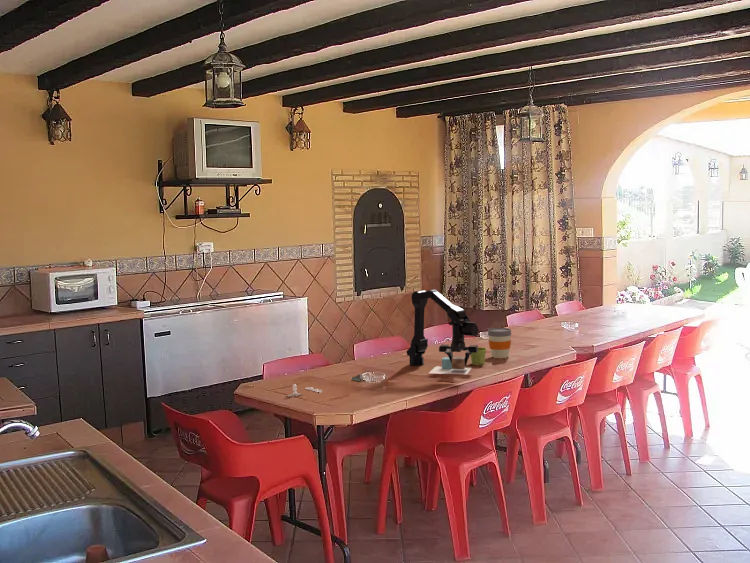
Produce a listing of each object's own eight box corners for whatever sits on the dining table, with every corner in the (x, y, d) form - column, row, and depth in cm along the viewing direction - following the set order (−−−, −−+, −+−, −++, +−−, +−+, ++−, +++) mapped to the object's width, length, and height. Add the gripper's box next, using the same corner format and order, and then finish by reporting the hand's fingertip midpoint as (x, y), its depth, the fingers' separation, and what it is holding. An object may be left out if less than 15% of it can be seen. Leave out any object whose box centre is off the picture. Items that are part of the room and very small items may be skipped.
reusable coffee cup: (496, 360, 405) (495, 332, 403) (484, 356, 416) (483, 329, 415) (516, 357, 409) (515, 330, 408) (503, 354, 421) (503, 327, 419)
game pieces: (293, 400, 337) (293, 387, 337) (277, 395, 347) (276, 382, 347) (371, 382, 367) (370, 370, 366) (353, 378, 376) (353, 366, 376)
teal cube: (442, 368, 383) (441, 359, 383) (444, 366, 388) (443, 357, 387) (451, 369, 382) (451, 359, 381) (453, 367, 386) (453, 357, 386)
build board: (428, 375, 375) (428, 373, 375) (435, 368, 390) (435, 366, 390) (466, 376, 369) (466, 374, 369) (472, 369, 384) (472, 367, 384)
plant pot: (477, 368, 387) (477, 351, 386) (465, 365, 394) (464, 349, 394) (491, 365, 392) (490, 348, 391) (478, 362, 400) (477, 346, 399)
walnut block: (451, 368, 375) (451, 358, 374) (454, 366, 381) (454, 356, 380) (463, 369, 373) (463, 359, 373) (466, 366, 379) (466, 356, 378)
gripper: (436, 337, 370) (436, 368, 372) (474, 337, 365) (474, 369, 366) (441, 333, 381) (441, 363, 383) (478, 333, 375) (478, 365, 377)
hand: (459, 365), depth 377 cm, fingers closed on walnut block, 6 cm apart
